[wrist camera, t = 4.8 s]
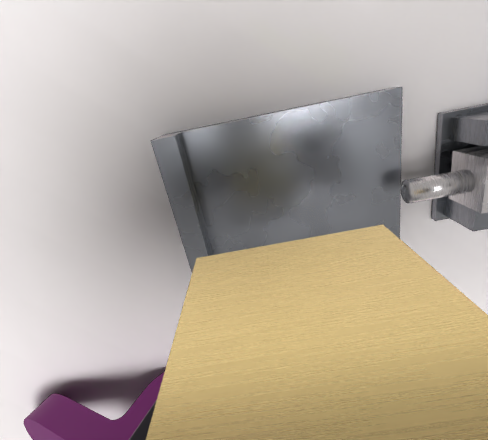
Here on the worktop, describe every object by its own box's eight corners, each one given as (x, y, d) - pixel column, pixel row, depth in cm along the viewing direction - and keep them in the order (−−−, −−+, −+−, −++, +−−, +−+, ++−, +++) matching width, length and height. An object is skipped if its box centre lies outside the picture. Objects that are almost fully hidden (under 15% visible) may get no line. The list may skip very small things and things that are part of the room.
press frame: (623, 39, 14) (858, 2, 9) (568, 239, 19) (703, 296, 13) (163, 134, 16) (122, 152, 11) (211, 298, 20) (200, 371, 15)
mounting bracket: (125, 388, 33) (273, 452, 25) (55, 471, 26) (227, 597, 18) (97, 325, 29) (259, 376, 21) (6, 402, 22) (194, 522, 14)
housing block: (388, 223, 7) (635, 425, 3) (388, 361, 9) (535, 618, 5) (196, 258, 8) (131, 491, 3) (234, 384, 10) (229, 645, 5)
